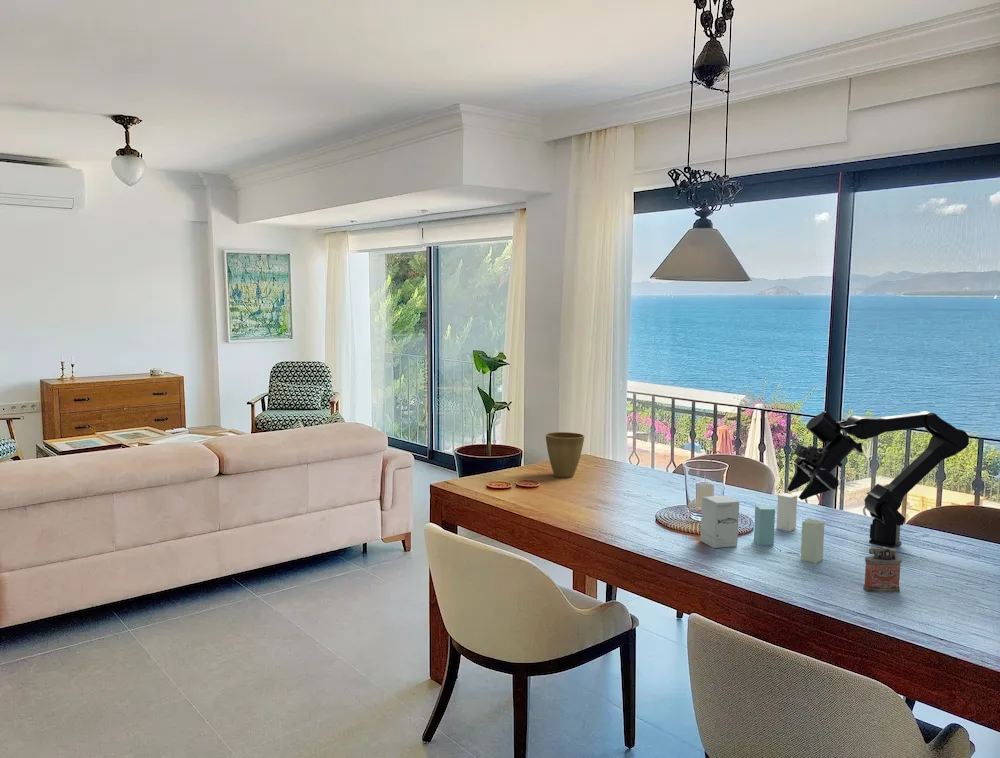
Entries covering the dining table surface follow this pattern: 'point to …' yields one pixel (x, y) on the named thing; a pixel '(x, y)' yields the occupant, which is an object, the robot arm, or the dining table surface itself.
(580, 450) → the plant pot
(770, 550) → the dining table surface
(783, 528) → the off-white post
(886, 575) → the lighter
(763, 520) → the teal post
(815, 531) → the sage post
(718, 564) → the dining table surface
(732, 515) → the supplement box
